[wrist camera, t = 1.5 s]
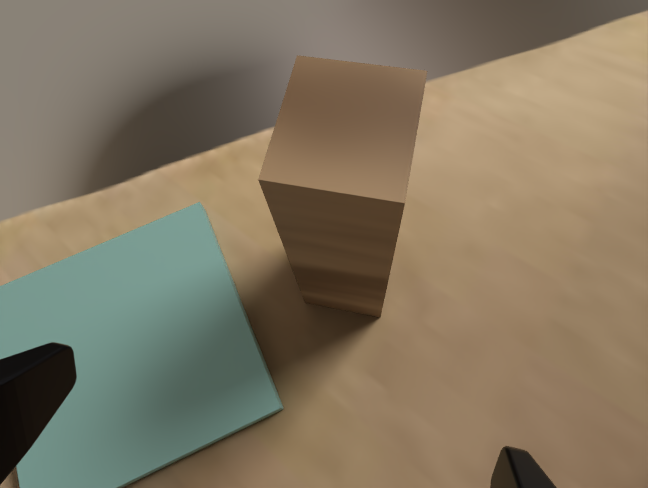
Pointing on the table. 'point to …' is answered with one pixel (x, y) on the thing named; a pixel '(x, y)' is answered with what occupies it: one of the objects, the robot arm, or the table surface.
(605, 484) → the table surface
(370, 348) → the table surface
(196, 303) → the teal board
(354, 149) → the walnut block
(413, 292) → the table surface
